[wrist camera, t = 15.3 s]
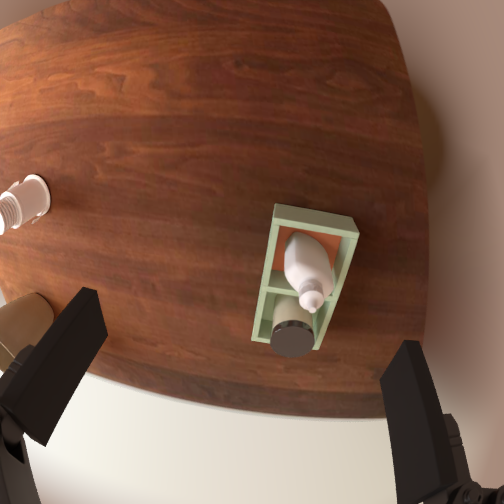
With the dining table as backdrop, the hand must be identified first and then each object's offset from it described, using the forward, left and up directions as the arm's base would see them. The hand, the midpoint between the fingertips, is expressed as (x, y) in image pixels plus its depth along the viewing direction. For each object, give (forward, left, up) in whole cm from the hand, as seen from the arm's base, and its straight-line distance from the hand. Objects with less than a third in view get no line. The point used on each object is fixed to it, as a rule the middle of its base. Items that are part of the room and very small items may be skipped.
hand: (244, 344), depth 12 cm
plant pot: (+54, +1, -26) cm, 60 cm away
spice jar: (+5, +17, -25) cm, 31 cm away
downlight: (+34, -16, -26) cm, 45 cm away
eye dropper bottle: (0, +10, -25) cm, 27 cm away
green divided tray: (+3, +13, -26) cm, 29 cm away
